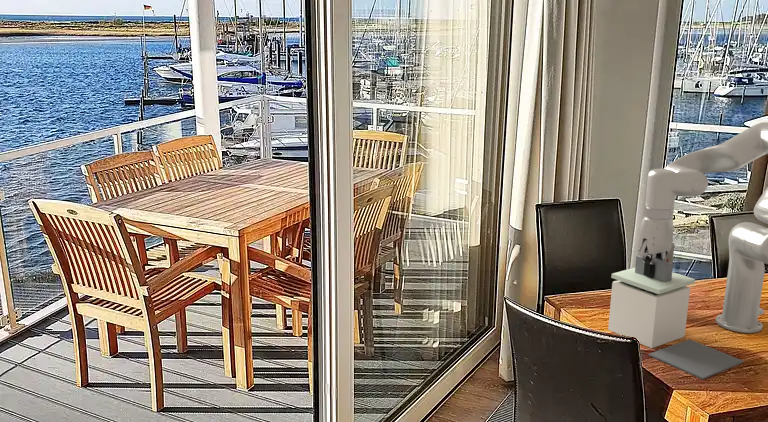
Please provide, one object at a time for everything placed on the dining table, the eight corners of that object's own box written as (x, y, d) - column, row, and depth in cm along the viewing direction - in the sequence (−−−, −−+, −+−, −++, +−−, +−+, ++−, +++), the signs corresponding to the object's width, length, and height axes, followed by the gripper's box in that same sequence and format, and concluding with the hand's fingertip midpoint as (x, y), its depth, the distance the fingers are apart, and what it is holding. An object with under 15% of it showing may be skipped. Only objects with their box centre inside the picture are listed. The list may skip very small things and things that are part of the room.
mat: (689, 340, 196) (689, 339, 196) (743, 362, 183) (743, 360, 183) (648, 355, 187) (648, 353, 187) (702, 379, 174) (702, 377, 174)
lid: (646, 271, 208) (648, 248, 207) (694, 286, 195) (696, 262, 193) (611, 280, 200) (612, 257, 198) (658, 297, 187) (660, 272, 185)
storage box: (640, 319, 211) (645, 273, 208) (684, 336, 199) (690, 287, 195) (608, 329, 203) (612, 281, 200) (651, 348, 191) (656, 297, 188)
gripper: (665, 206, 200) (659, 266, 204) (628, 214, 191) (623, 276, 196) (688, 212, 194) (682, 273, 198) (651, 220, 185) (645, 284, 190)
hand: (652, 274), depth 197 cm, fingers closed on lid, 3 cm apart
